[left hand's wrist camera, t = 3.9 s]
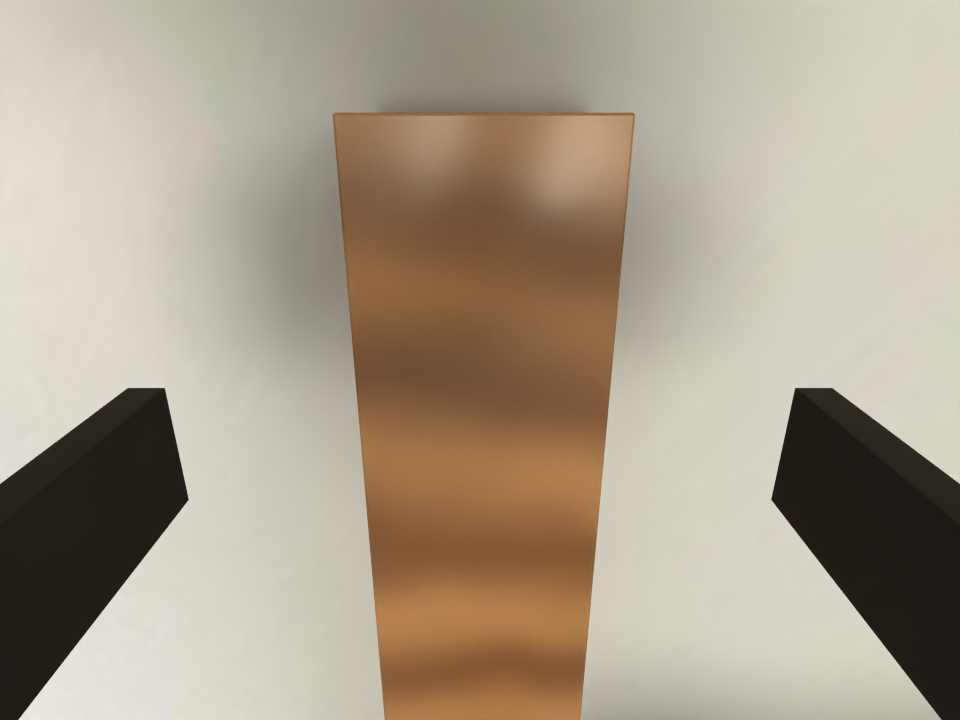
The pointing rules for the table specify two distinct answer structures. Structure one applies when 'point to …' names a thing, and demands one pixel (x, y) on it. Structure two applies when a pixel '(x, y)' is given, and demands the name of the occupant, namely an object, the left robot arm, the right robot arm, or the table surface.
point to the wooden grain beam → (483, 394)
